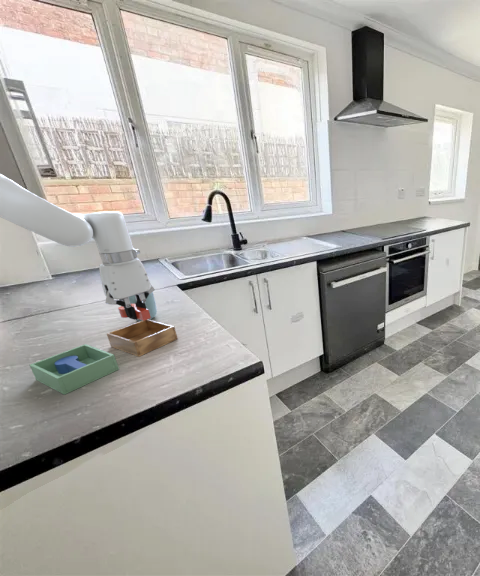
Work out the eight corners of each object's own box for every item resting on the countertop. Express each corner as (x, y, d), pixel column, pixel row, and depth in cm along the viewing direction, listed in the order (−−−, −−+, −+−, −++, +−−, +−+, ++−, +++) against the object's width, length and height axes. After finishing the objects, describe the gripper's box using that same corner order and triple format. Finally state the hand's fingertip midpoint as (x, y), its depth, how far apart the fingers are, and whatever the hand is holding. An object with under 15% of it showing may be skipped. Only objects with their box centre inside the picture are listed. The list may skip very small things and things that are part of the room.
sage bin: (64, 394, 72) (57, 378, 71) (36, 380, 78) (29, 364, 76) (119, 369, 82) (114, 354, 80) (90, 357, 87) (85, 343, 86)
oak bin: (138, 356, 87) (134, 342, 86) (111, 346, 93) (106, 333, 91) (177, 339, 97) (174, 326, 95) (150, 331, 103) (146, 318, 101)
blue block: (98, 372, 80) (94, 362, 79) (76, 381, 76) (72, 372, 75) (76, 362, 84) (72, 354, 83) (54, 371, 80) (50, 362, 79)
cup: (163, 313, 116) (156, 288, 113) (152, 322, 109) (144, 296, 106) (140, 315, 115) (132, 290, 112) (128, 324, 108) (119, 297, 104)
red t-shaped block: (155, 316, 92) (152, 307, 91) (139, 322, 89) (136, 313, 88) (133, 310, 97) (131, 302, 96) (117, 316, 93) (114, 307, 92)
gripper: (141, 250, 94) (158, 305, 101) (76, 262, 81) (99, 325, 87) (156, 251, 91) (172, 308, 98) (91, 265, 78) (114, 330, 84)
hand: (138, 316), depth 92 cm, fingers closed on red t-shaped block, 2 cm apart
